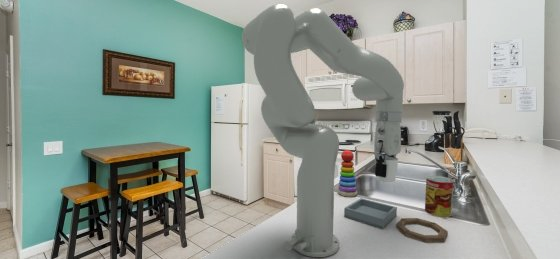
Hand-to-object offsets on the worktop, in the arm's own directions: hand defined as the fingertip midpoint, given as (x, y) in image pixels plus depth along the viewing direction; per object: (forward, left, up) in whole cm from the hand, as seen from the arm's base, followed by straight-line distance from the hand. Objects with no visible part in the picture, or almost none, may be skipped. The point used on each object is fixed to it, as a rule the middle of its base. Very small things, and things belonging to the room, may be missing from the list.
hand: (385, 174), depth 78 cm
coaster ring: (0, -11, -15) cm, 19 cm away
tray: (0, +4, -15) cm, 16 cm away
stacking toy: (+15, +20, -15) cm, 30 cm away
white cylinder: (0, 0, -2) cm, 2 cm away
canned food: (+19, -12, -15) cm, 27 cm away
